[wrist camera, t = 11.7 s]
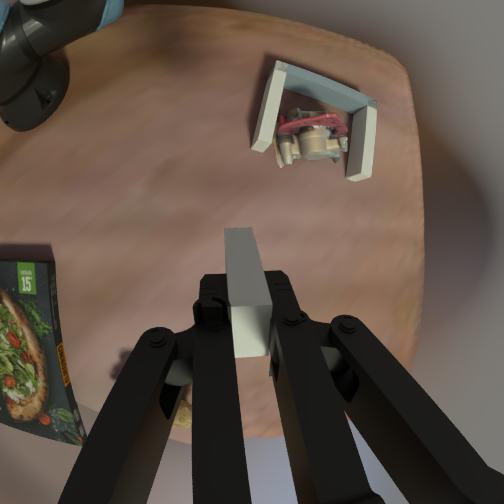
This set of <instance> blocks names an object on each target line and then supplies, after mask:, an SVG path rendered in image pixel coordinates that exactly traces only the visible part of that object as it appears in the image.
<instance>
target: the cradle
mask: <svg viewBox="0 0 504 504" xmlns="http://www.w3.org/2000/svg"><path fill="white" fill-rule="evenodd" d="M283 88H284V89H287V90H290V91H293V92H296V93H299V94H302V95H305V96H308V97H310V98H313V99H316V100H318V101H321V102H324V103H326V104H329V105H331V106H334V107H336V108H339V109H341V110H344V111H346V112H348V113H351V114H353V123H352V132H351V141H350V149H349V157H348V165H347V172H346V179H349V180H352V181H355V182H356V181H359V180H363V179H366V178H370V177H371V173H372V164H373V154H374V143H375V131H376V115H377V101H376V100H374V99H372V98H370V97H368V96H366V95H364V94H362V93H360V92H358V91H356V90H354V89H351V88H349V87H347V86H345V85H342V84H340V83H338V82H335V81H333V80H331V79H328V78H326V77H323V76H321V75H318V74H315V73H313V72H310V71H307V70H305V69H302V68H299V67H296V66H293V65H290V64H287V63H284V62H281V61H278V60H276V62H275V64H274V66H273V68H272V69H271V71H270V73H269V75H268V79H267V83H266V87H265V91H264V96H263V100H262V104H261V108H260V112H259V116H258V120H257V125H256V129H255V133H254V138H253V142H252V146H251V149H252V150H256V151H259V152H264V151H265V150H266V149H267V148H268V146H269V145H270V144H271V143H272V138H273V134H274V129H275V124H276V120H277V115H278V110H279V106H280V101H281V96H282V92H283Z"/></svg>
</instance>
